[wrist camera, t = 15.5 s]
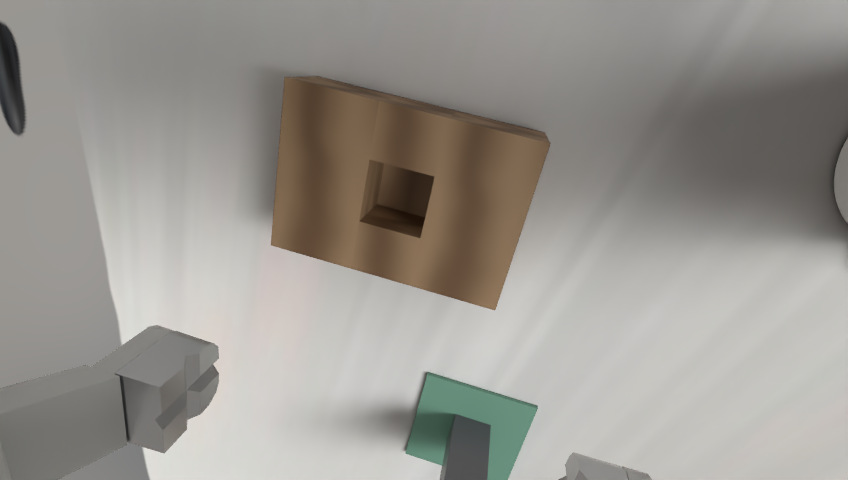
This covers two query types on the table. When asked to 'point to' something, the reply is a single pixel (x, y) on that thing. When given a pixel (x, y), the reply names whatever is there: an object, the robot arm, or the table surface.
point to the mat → (474, 403)
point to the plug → (466, 450)
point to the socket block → (403, 187)
